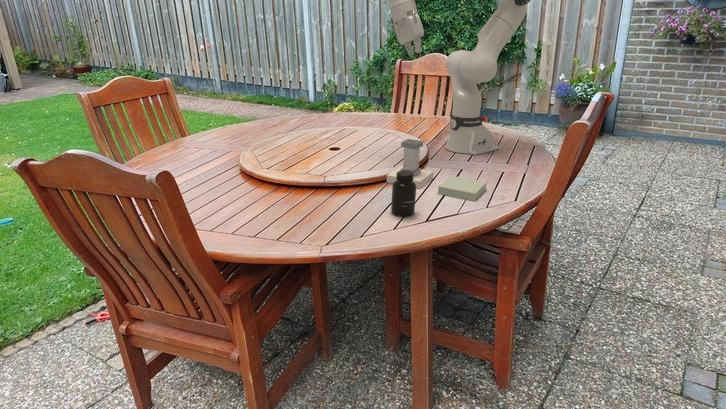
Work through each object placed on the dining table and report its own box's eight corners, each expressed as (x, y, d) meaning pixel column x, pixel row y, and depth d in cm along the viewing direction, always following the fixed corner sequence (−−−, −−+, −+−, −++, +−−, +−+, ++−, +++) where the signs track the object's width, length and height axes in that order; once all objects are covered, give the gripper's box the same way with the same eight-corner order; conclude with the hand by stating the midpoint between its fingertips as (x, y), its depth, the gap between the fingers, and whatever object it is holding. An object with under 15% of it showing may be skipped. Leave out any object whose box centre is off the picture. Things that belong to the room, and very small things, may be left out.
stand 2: (451, 182, 165) (451, 175, 164) (485, 189, 160) (486, 182, 159) (437, 193, 156) (438, 186, 155) (474, 201, 150) (475, 193, 149)
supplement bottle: (407, 219, 137) (410, 178, 133) (386, 213, 140) (388, 174, 136) (418, 211, 143) (421, 172, 138) (398, 205, 146) (399, 167, 141)
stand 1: (401, 172, 175) (402, 165, 174) (433, 178, 169) (433, 171, 168) (386, 182, 165) (386, 175, 164) (419, 188, 159) (419, 181, 159)
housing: (406, 169, 170) (408, 138, 165) (421, 172, 167) (423, 141, 163) (399, 174, 165) (401, 142, 161) (414, 177, 163) (416, 144, 158)
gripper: (422, 5, 160) (433, 47, 163) (405, 16, 180) (415, 54, 183) (404, 10, 159) (415, 53, 162) (389, 21, 179) (399, 59, 182)
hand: (415, 53), depth 173 cm, fingers open, 8 cm apart
